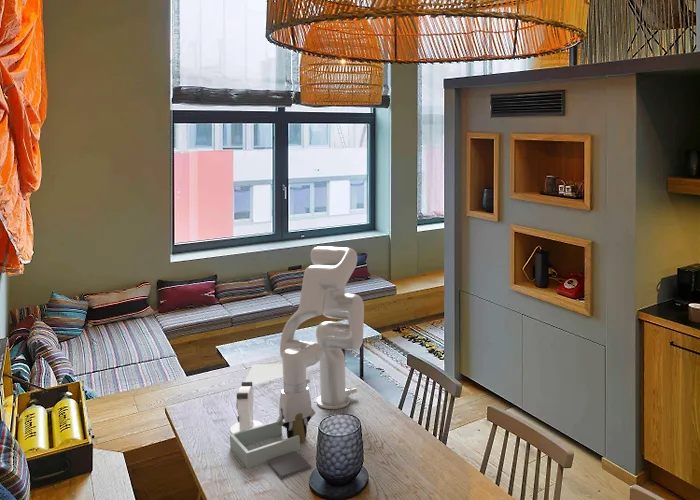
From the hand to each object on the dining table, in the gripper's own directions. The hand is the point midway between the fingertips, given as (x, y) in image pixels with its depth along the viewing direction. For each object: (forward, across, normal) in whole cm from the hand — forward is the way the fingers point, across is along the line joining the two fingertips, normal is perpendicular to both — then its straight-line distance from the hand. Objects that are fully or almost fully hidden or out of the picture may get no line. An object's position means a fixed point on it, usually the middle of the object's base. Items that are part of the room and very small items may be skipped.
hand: (297, 437), depth 193 cm
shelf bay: (+1, +12, 0) cm, 12 cm away
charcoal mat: (+1, +10, +13) cm, 16 cm away
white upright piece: (+1, +11, -17) cm, 20 cm away
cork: (+1, 0, 0) cm, 1 cm away
